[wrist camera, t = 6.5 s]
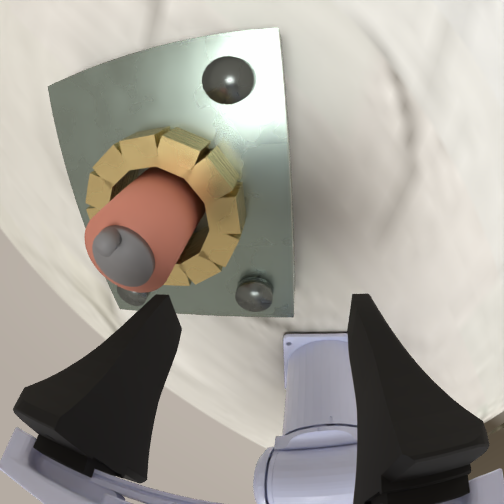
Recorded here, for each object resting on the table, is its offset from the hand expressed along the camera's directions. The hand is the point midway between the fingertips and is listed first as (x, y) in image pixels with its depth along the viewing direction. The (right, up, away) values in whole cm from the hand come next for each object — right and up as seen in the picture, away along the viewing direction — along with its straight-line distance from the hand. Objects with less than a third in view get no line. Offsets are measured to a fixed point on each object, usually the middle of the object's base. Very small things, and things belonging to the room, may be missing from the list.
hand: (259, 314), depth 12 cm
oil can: (-5, +6, +6) cm, 10 cm away
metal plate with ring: (-5, +7, +8) cm, 12 cm away
